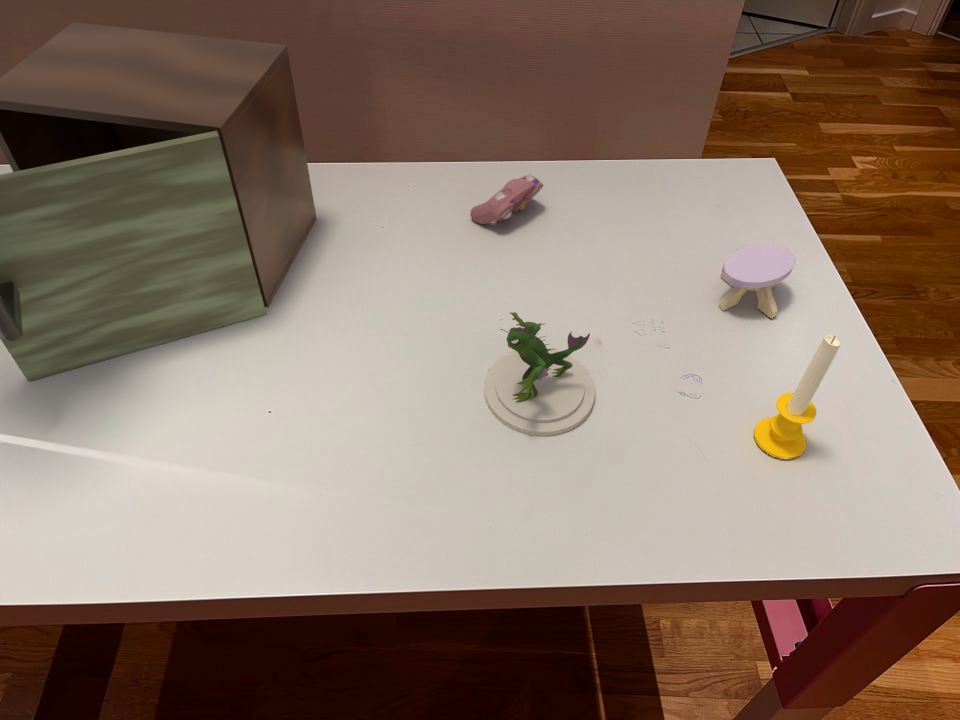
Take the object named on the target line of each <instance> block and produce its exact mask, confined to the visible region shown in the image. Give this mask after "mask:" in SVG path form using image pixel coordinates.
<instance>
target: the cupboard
mask: <svg viewBox="0 0 960 720" xmlns="http://www.w3.org/2000/svg"><path fill="white" fill-rule="evenodd" d="M288 49H289V48H288V45H287V44H279V43H268V42H259V41H250V40H241V39H233V38H223V37H213V36H204V35H195V34H187V33H178V32H177V33H176V32H168V31H167V32H166V31H158V30H148V29H139V28H130V27H123V26H122V27H121V26H111V25H104V24H103V25H102V24H94V23H83V22H71V23H70V24H69V25H68V26H67V27H65V28H64V29H62V30H61V31H60V32H58V33H57V34H56V35H55V36H53V37H52V38H51V39H50V40H48V41H47V42H45V43H44V44H43V45H41V46H40V47H39V48H38V49H36V50H35V51H33V52H32V53H31V54H30V55H28V56H27V57H26V58H25V59H23V60H22V61H21V62H19V63H18V64H17V65H15V66H14V67H13V68H11V69H10V70H9V71H7V72H5V74H4V75H2V76H1V77H0V149H1V151H2V153H3V155H4V157H5V159H6V160H7V163H8V164H9V167H10V168H11V170H12V172H16V171H21V170H26V169H31V168H36V167H41V166H46V165H50V164H55V163H60V162H65V161H70V160H75V159H80V158H85V157H90V156H95V155H100V154H104V153H109V152H114V151H119V150H124V149H129V148H134V147H139V146H144V145H149V144H154V143H159V142H163V141H168V140H173V139H178V138H183V137H188V136H193V135H198V134H203V133H208V132H213V131H217V132H218V135H219V138H220V142H221V145H222V149H223V153H224V157H225V160H226V164H227V168H228V172H229V176H230V179H231V183H232V187H233V191H234V194H235V198H236V202H237V206H238V209H239V213H240V217H241V221H242V224H243V228H244V232H245V236H246V239H247V243H248V247H249V251H250V254H251V258H252V262H253V266H254V270H255V273H256V277H257V281H258V285H259V288H260V292H261V296H262V300H263V303H264V307H265V309H268V308H269V307H270V305H271V304H272V301H273V300H274V298H275V296H276V294H277V292H278V290H279V288H280V287H281V285H282V283H283V281H284V279H285V278H286V276H287V274H288V273H289V271H290V268H291V267H292V265H293V263H294V262H295V259H296V257H297V256H298V254H299V252H300V250H301V248H302V247H303V245H304V243H305V241H306V240H307V237H308V236H309V234H310V232H311V230H312V229H313V227H314V225H315V223H316V221H317V220H318V218H317V211H316V206H315V200H314V194H313V189H312V183H311V177H310V171H309V165H308V161H307V153H306V148H305V143H304V137H303V131H302V126H301V120H300V114H299V107H298V102H297V96H296V90H295V85H294V78H293V73H292V68H291V67H292V66H291V62H290V55H289V50H288Z"/></svg>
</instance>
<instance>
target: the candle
mask: <svg viewBox="0 0 960 720" xmlns="http://www.w3.org/2000/svg"><path fill="white" fill-rule="evenodd" d="M840 347H841V341H840V340H839V339H838V337H836V335H834V336H833V335H831V334H827V335H824V337H823V338H822V341H821V343H820V344H819V346H818V347H817V349H816V351H815V353H814V355H813V356H812V358H811V360H810V362H809V364H808V366H807V368H806V370H805V371H804V373H803V375H802V377H801V379H800V381H799V382H798V384H797V386H796V388H795V390H794V391H793V392H785V393H783V394H780V395H779V396H778V397H777V398H776V400H775V401H776V402H775V407H776V410H777V411H778V413H776V414H774V415H773V416H771V417H766V418H763V419H761V420H760V421H758V422H757V424H756V426H755V427H754V429H753V438H754V437H755V439H754V442H755V441H756V442H755V443H757V444H758V445H757V444H756V445H757V447H758V446H760V448H762V450H763V451H765V452H766V453H768V454H769V455H771V456H775V457H778V458H782V459H783V458H788V459H789V458H794V457H797V456H799V455H800V456H801V455H802V454H803V453H804V452H805V450H806V447H807V440H806V436H805V434H804V433H803V426H802V425H805V424H810V423H811V422H813V421H814V420H815V419H816V417H817V408H816V406H815V404H814V403H813V401H812V399H813V397H814V396H815V394H816V392H817V391H818V388H819V387H820V385H821V383H822V382H823V380H824V377H825V375H826V374H827V373H828V370H829V368H830V367H831V365H832V364H833V361H834V359H835V357H836V355H837V354H838V351H839V349H840ZM760 448H759V449H760ZM762 450H761V451H762ZM763 451H762V452H763ZM765 452H764V453H765ZM802 452H803V453H802ZM766 453H765V454H766ZM768 454H767V455H768ZM769 455H768V456H769ZM771 456H770V457H771ZM800 456H799V457H800ZM797 458H798V457H797Z"/></svg>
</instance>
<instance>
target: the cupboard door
mask: <svg viewBox="0 0 960 720" xmlns="http://www.w3.org/2000/svg"><path fill="white" fill-rule="evenodd" d="M266 315H267V311H266V308H265V307H264V303H263V300H262V296H261V292H260V288H259V285H258V281H257V277H256V273H255V270H254V266H253V262H252V258H251V254H250V251H249V247H248V243H247V239H246V236H245V232H244V228H243V224H242V221H241V217H240V213H239V209H238V206H237V202H236V198H235V194H234V191H233V187H232V183H231V179H230V176H229V172H228V168H227V164H226V160H225V157H224V153H223V149H222V145H221V142H220V138H219V135H218V132H217V131H213V132H208V133H203V134H198V135H193V136H188V137H183V138H178V139H173V140H168V141H163V142H159V143H154V144H149V145H144V146H139V147H134V148H129V149H124V150H119V151H114V152H109V153H104V154H100V155H95V156H90V157H85V158H80V159H75V160H70V161H65V162H60V163H55V164H50V165H46V166H41V167H36V168H31V169H26V170H21V171H16V172H13V171H12V172H7V173H1V174H0V341H1V342H2V344H3V345H4V347H5V348H6V350H7V351H8V354H10V356H11V357H12V359H13V360H14V362H15V364H16V365H17V367H18V368H19V370H20V371H21V373H22V374H23V376H24V377H25V379H26V381H27V382H32V381H36V380H39V379H43V378H46V377H49V376H53V375H56V374H61V373H64V372H68V371H71V370H74V369H78V368H81V367H86V366H89V365H92V364H95V363H99V362H103V361H107V360H110V359H113V358H117V357H121V356H124V355H128V354H131V353H134V352H138V351H141V350H146V349H148V348H149V349H150V348H152V347H156V346H160V345H163V344H167V343H170V342H174V341H177V340H180V339H183V338H187V337H192V336H194V335H198V334H202V333H206V332H208V331H212V330H216V329H219V328H223V327H227V326H230V325H233V324H237V323H241V322H245V321H249V320H252V319H255V318H258V317H262V316H266Z"/></svg>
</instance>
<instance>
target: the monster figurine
mask: <svg viewBox="0 0 960 720" xmlns="http://www.w3.org/2000/svg"><path fill="white" fill-rule="evenodd" d="M509 314H510V315H512V317H513V318H512V319H511V321H516V322H517V323H518V324H515V326H519V327H511V328H510V329H509V331H507V330H505V329H503V328H500V331H504V332H506V333H507V336H506V343H507V347H508V348H510V349H512V350H513V351H510V352H508V353H505V354H503V355H502V356H501V357H500V358H498V359H497V360H496V361H495V362H493V364H492V365H491V366H490V368H489V370H488V371H487V373H486V375H485V379H484V386H483V396H484V399H485V403H486V405H487V407H488V409H489V411H490V413H491V414H492V415H493V416H494V418H496V419H497V421H499V422H500V423H502V424H503V426H506V427H508V428H509V429H511V430H513V431H516V432H517V433H520V434H525V435H528V436H534V437H551V436H557V435H562V434H565V433H567V432H569V431H572V430H573V428H574V429H575V428H577V427H579V425H581V424H582V423H583V422H584V421H585V420H587V418H588V417H589V415H590V414H591V412H592V410H593V406H594V402H595V397H596V389H595V383H594V381H593V377H592V376H591V374H590V373H589V371H588V370H587V369H586V368H585V366H584V365H583V364H582V363H581V362H579V360H577V359H576V358H574V357H572V356H571V354H572V353H574V352H576V351H579V350H580V349H582V348H583V347H584V346H585V345H586V344H587V343H588V340H589V339H590V335H591V333H590V332H589V333H588V334H587V335H586V336H585V337H584V336H582V335H579V336H578V337H575V336H573V335H572V331H570V332H569V334H568V335H567V346H568V348H567V349H564V350H557V349H554V348H548V347H546V346H547V345H549V343H546V344H545V343H544V341H545V339H541V338H546V337H547V335H545V336H539V337H538V336H537V335H539V334H540V333H538V332H539V331H540V330H541V328H542V327H541V326H543V325H545V324H546V322H544V323H542V322H539V323H537V322H534V321H524V320H523V319H522V318H521V317H520V316H519V315H518V313H517V312H516V311H515V312H509Z"/></svg>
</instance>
